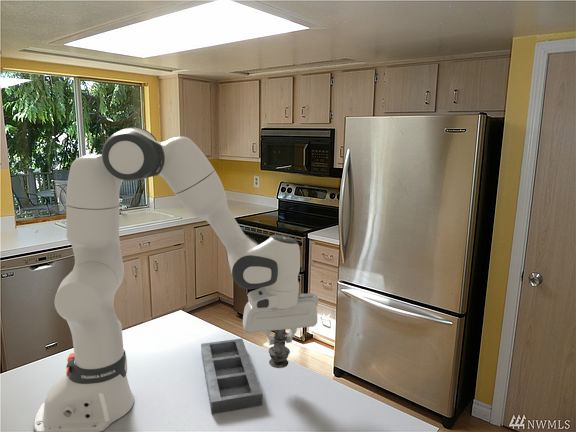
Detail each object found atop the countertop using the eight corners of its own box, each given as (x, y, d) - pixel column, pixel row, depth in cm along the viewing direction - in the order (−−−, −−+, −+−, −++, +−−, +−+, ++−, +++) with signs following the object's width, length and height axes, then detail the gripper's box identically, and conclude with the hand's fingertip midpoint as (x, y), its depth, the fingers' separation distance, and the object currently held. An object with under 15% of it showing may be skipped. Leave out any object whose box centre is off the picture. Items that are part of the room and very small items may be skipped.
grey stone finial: (289, 369, 112) (291, 328, 110) (267, 368, 112) (268, 327, 110) (289, 357, 118) (291, 318, 116) (268, 356, 118) (270, 317, 116)
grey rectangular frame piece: (211, 414, 105) (211, 402, 104) (201, 353, 132) (201, 343, 131) (262, 405, 109) (262, 393, 108) (242, 348, 135) (242, 338, 135)
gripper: (314, 288, 117) (311, 333, 120) (242, 293, 111) (241, 340, 114) (322, 297, 111) (319, 344, 114) (246, 303, 105) (245, 353, 108)
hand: (279, 342), depth 114 cm, fingers closed on grey stone finial, 4 cm apart
